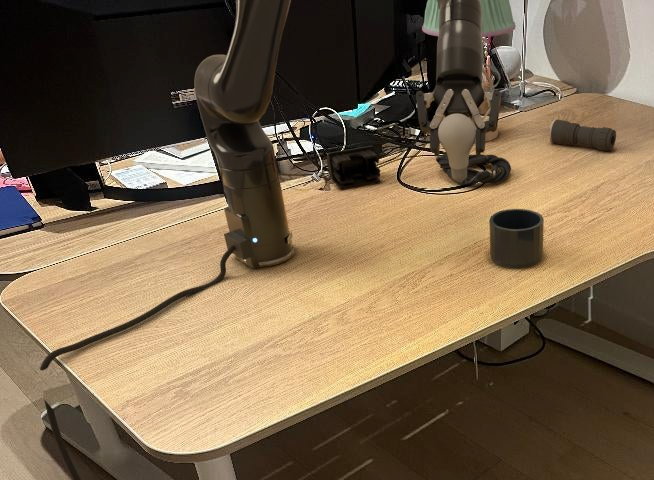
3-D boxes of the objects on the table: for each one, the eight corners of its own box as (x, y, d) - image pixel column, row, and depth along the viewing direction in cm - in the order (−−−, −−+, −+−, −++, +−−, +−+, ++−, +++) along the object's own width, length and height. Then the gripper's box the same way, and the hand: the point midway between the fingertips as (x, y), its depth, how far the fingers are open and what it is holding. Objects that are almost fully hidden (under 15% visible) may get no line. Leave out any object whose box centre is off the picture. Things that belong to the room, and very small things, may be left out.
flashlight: (617, 148, 178) (619, 125, 174) (608, 154, 174) (610, 131, 171) (557, 139, 184) (558, 116, 180) (548, 145, 180) (549, 122, 176)
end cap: (373, 172, 167) (369, 141, 163) (383, 182, 162) (379, 151, 158) (329, 179, 164) (324, 149, 160) (338, 190, 159) (333, 159, 155)
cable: (425, 170, 167) (424, 151, 165) (477, 157, 174) (476, 138, 171) (468, 193, 156) (468, 172, 154) (522, 178, 163) (522, 158, 160)
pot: (517, 273, 126) (517, 235, 122) (479, 257, 132) (478, 220, 128) (553, 255, 132) (554, 218, 128) (515, 240, 137) (515, 204, 133)
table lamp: (497, 118, 199) (494, -56, 175) (529, 142, 182) (531, -47, 159) (419, 128, 193) (405, -51, 169) (444, 154, 176) (433, -40, 153)
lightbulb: (477, 174, 127) (475, 107, 121) (478, 187, 122) (475, 119, 116) (441, 175, 127) (437, 109, 120) (441, 189, 122) (436, 120, 115)
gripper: (412, 45, 119) (409, 143, 117) (502, 43, 119) (501, 143, 116) (419, 71, 127) (416, 165, 124) (504, 70, 126) (503, 164, 123)
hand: (457, 154), depth 120 cm, fingers closed on lightbulb, 6 cm apart
